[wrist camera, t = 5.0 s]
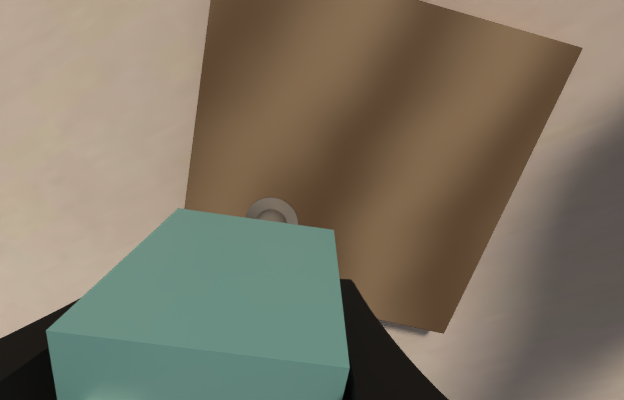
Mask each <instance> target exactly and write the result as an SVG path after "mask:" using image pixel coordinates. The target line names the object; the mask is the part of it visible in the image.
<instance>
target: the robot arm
mask: <svg viewBox="0 0 624 400" xmlns="http://www.w3.org/2000/svg"><path fill="white" fill-rule="evenodd" d="M340 287H341V296H342V305H343V313H344V322H345V331H346V339H347V348H348V357H349V365H350V369H349V373H348V378H347V382H346V386H345V390H344V394H343V398H342V400H448V399H447V398H446V397H445V396H444V395H443V394H442V393H441V392H440V391H439V390H438V389H437V388H436V387H435V386H434V385H433V384H432V383H431V382H430V381H429V380H428V379H427V378H426V377H425V376H424V375H423V374H422V373H421V371H420V370H419V369H418V368H417V367H416V366H415V365H414V364H413V363H412V362H411V360H410V359H409V358H408V357H407V356H406V355H405V353H404V352H403V351H402V350H401V349H400V347H399V346H398V345H397V344H396V343H395V341H394V340H393V339H392V338H391V336H390V335H389V334H388V333H387V331H386V330H385V328H384V327H383V326H382V324H381V323H380V322H379V320H378V319H377V318H376V316H375V315H374V313H373V312H372V311H371V309H370V308H369V306H368V305H367V303H366V302H365V300H364V298H363V297H362V295H361V294H360V292H359V290H358V289H357V287H356V285H355V283H354V282H353V281H352V280H351V279H340ZM80 299H81V298H80ZM80 299H78V300H80ZM78 300H76V301H74V302H72V303H71V304H69V305H67V306H65V307H63V308H61V309H59V310H57V311H55V312H53V313H51V314H49V315H47V316H45V317H43V318H41V319H39V320H37V321H35V322H33V323H31V324H29V325H27V326H25V327H23V328H21V329H19V330H17V331H15V332H13V333H11V334H9V335H7V336H5V337H3V338H0V400H57V395H56V389H55V383H54V377H53V371H52V365H51V359H50V353H49V346H48V340H47V334H46V330H47V329H48V328H49V327H50V326H51V325H52V324H54V323H55V322H56V321H57V320H58V319H59V318H60V317H61V316H62V315H63V314H64V313H65V312H67V311H68V310H69V309H70V308H71V307H72V306H73V305H74V304H75V303H76V302H77V301H78Z"/></svg>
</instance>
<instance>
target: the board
mask: <svg viewBox="0 0 624 400" xmlns="http://www.w3.org/2000/svg"><path fill="white" fill-rule="evenodd" d="M582 49H583V48H581V47H577V46H574V45H570V44H567V43H563V42H560V41H557V40H553V39H550V38H546V37H543V36H539V35H536V34H532V33H529V32H526V31H522V30H519V29H515V28H512V27H508V26H505V25H502V24H498V23H495V22H491V21H488V20H484V19H481V18H477V17H474V16H471V15H467V14H464V13H460V12H457V11H453V10H450V9H446V8H443V7H440V6H436V5H433V4H429V3H426V2H422V1H419V0H211V3H210V10H209V18H208V26H207V34H206V42H205V50H204V58H203V66H202V74H201V82H200V90H199V98H198V106H197V114H196V122H195V130H194V137H193V145H192V153H191V161H190V169H189V177H188V185H187V193H186V201H185V209H187V210H194V211H202V212H209V213H216V214H223V215H230V216H238V217H245V218H252V219H259V220H266V221H274V222H281V223H288V224H295V225H302V226H310V227H317V228H324V229H331V230H334V235H335V244H336V253H337V261H338V270H339V279H351V280H352V281H353V282H354V283H355V285H356V287H357V289H358V290H359V292H360V294H361V295H362V297H363V298H364V300H365V302H366V303H367V305H368V306H369V308H370V309H371V311H372V312H373V313H374V315H375V316H376V318H377V319H379V320H384V321H388V322H393V323H397V324H402V325H407V326H411V327H416V328H420V329H425V330H429V331H434V332H439V333H443V334H444V332H445V330H446V328H447V326H448V324H449V322H450V320H451V318H452V316H453V314H454V311H455V309H456V307H457V305H458V303H459V301H460V299H461V297H462V295H463V293H464V291H465V289H466V287H467V285H468V283H469V281H470V279H471V277H472V275H473V272H474V270H475V268H476V266H477V264H478V262H479V260H480V258H481V256H482V254H483V252H484V250H485V248H486V246H487V244H488V242H489V240H490V238H491V235H492V233H493V231H494V229H495V227H496V225H497V223H498V221H499V219H500V217H501V215H502V213H503V211H504V209H505V207H506V205H507V203H508V201H509V198H510V196H511V194H512V192H513V190H514V188H515V186H516V184H517V182H518V180H519V178H520V176H521V174H522V172H523V170H524V168H525V166H526V164H527V162H528V159H529V157H530V155H531V153H532V151H533V149H534V147H535V145H536V143H537V141H538V139H539V137H540V135H541V133H542V131H543V129H544V127H545V125H546V122H547V120H548V118H549V116H550V114H551V112H552V110H553V108H554V106H555V104H556V102H557V100H558V98H559V96H560V94H561V92H562V90H563V88H564V85H565V83H566V81H567V79H568V77H569V75H570V73H571V71H572V69H573V67H574V65H575V63H576V61H577V59H578V57H579V55H580V53H581V51H582Z"/></svg>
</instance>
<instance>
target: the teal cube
mask: <svg viewBox="0 0 624 400" xmlns="http://www.w3.org/2000/svg"><path fill="white" fill-rule="evenodd" d="M46 334H47V340H48V346H49V353H50V359H51V365H52V371H53V377H54V383H55V389H56V395H57V400H342V398H343V394H344V390H345V386H346V382H347V378H348V373H349V369H350V365H349V357H348V348H347V339H346V331H345V322H344V313H343V305H342V296H341V287H340V279H339V270H338V261H337V253H336V244H335V235H334V230H331V229H324V228H317V227H310V226H302V225H295V224H288V223H281V222H274V221H266V220H259V219H252V218H245V217H238V216H230V215H223V214H216V213H209V212H202V211H194V210H187V209H180V208H178V209H177V210H176V211H175V212H174V213H173V214H172V215H171V216H170V217H168V218H167V219H166V220H165V221H164V222H163V223H162V224H161V225H160V226H159V227H158V228H157V229H155V230H154V231H153V232H152V233H151V234H150V235H149V236H148V237H147V238H146V239H145V240H144V241H142V242H141V243H140V244H139V245H138V246H137V247H136V248H135V249H134V250H133V251H132V252H131V253H129V254H128V255H127V256H126V257H125V258H124V259H123V260H122V261H121V262H120V263H119V264H118V265H116V266H115V267H114V268H113V269H112V270H111V271H110V272H109V273H108V274H107V275H106V276H105V277H103V278H102V279H101V280H100V281H99V282H98V283H97V284H96V285H95V286H94V287H93V288H92V289H90V290H89V291H88V292H87V293H86V294H85V295H84V296H83V297H82V298H81V299H80V300H78V301H77V302H76V303H75V304H74V305H73V306H72V307H71V308H70V309H69V310H68V311H67V312H65V313H64V314H63V315H62V316H61V317H60V318H59V319H58V320H57V321H56V322H55V323H54V324H52V325H51V326H50V327H49V328H48V329H47V330H46Z"/></svg>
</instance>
